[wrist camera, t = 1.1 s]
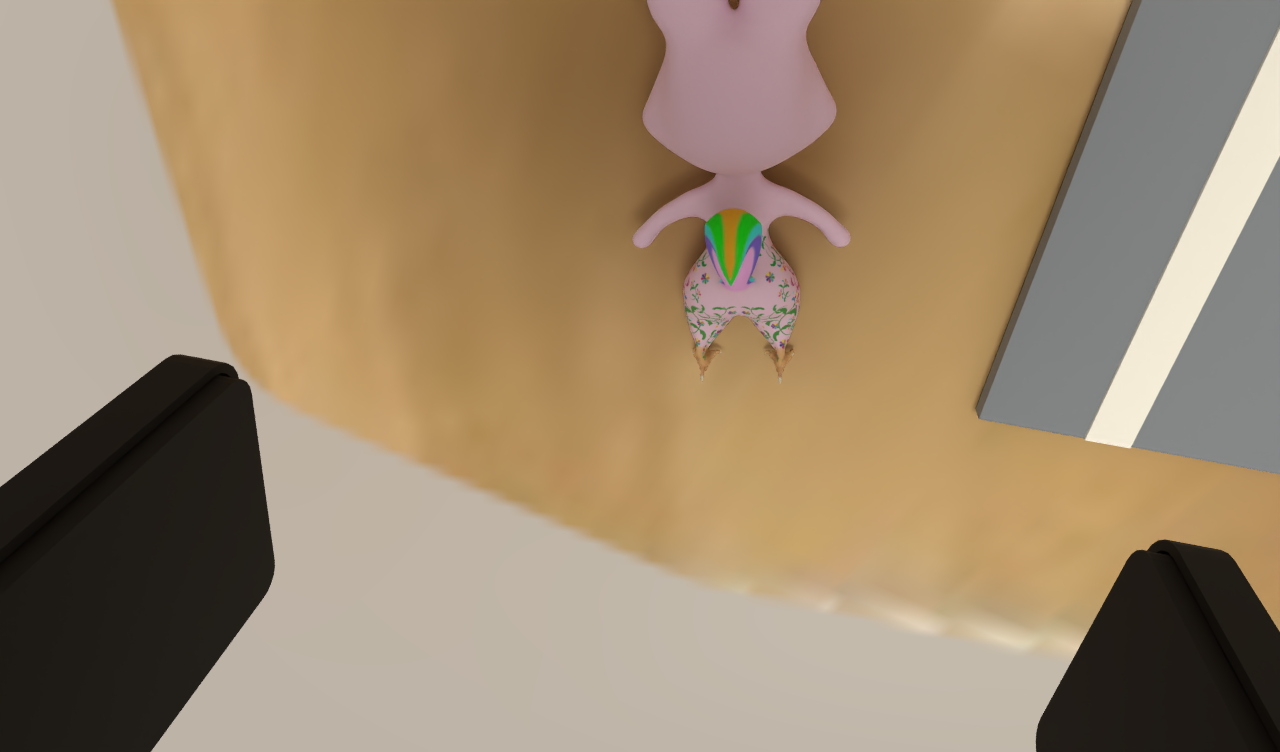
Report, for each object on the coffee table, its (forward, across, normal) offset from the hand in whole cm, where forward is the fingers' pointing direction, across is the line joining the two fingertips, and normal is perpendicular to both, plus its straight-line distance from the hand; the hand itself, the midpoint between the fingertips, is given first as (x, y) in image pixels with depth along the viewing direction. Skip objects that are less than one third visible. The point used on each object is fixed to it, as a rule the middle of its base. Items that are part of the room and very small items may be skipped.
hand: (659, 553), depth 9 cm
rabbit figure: (+19, 0, 0) cm, 19 cm away
